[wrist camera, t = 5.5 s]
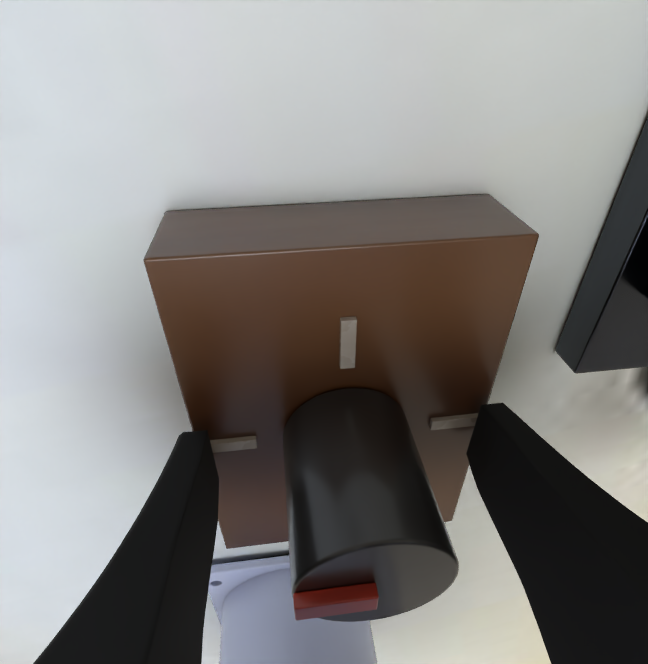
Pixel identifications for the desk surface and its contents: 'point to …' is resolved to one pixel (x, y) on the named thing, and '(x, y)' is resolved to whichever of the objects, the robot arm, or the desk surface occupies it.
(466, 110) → the desk surface
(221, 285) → the console
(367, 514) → the dial
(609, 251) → the bracket
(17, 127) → the desk surface
